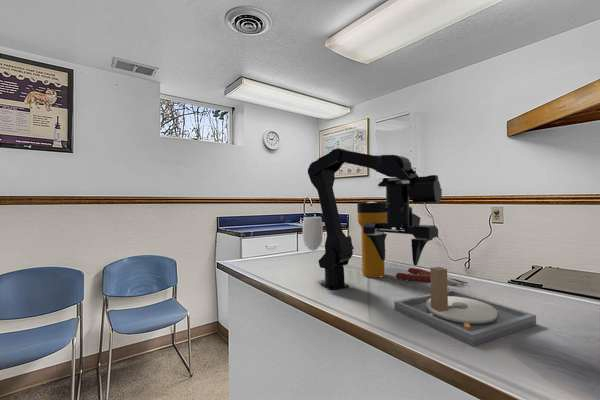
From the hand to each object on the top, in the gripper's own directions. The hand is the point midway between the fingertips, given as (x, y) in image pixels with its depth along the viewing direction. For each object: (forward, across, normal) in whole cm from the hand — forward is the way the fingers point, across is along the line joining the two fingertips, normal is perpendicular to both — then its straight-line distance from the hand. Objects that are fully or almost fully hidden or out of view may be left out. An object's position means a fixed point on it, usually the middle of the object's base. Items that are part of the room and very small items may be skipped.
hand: (398, 262), depth 78 cm
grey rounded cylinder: (+10, +34, -2) cm, 36 cm away
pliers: (+11, +3, -23) cm, 25 cm away
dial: (+9, -15, 0) cm, 17 cm away
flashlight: (+10, +20, -18) cm, 28 cm away
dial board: (+10, -15, 0) cm, 18 cm away
